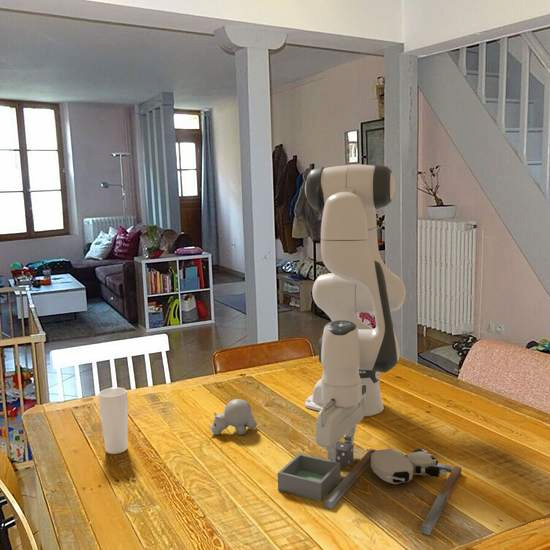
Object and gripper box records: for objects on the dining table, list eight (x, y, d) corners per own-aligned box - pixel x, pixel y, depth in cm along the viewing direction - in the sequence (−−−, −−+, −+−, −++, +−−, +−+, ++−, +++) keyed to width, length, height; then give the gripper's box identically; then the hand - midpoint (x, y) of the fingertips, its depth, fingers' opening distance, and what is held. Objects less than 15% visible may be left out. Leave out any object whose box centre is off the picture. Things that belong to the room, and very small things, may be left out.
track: (324, 507, 120) (324, 500, 119) (372, 452, 143) (372, 446, 143) (429, 535, 109) (429, 527, 109) (462, 471, 133) (462, 464, 133)
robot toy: (424, 460, 139) (362, 465, 136) (425, 441, 138) (363, 446, 135) (449, 487, 127) (383, 494, 124) (451, 468, 126) (384, 474, 123)
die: (330, 464, 138) (330, 447, 137) (337, 457, 141) (337, 441, 141) (347, 468, 136) (347, 451, 135) (353, 460, 139) (353, 444, 139)
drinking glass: (136, 446, 150) (132, 388, 147) (120, 457, 143) (116, 398, 141) (112, 442, 152) (108, 386, 150) (96, 454, 146) (92, 395, 143)
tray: (278, 490, 127) (277, 472, 126) (299, 470, 135) (299, 453, 134) (321, 501, 122) (320, 483, 121) (340, 480, 130) (340, 462, 130)
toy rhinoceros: (215, 437, 160) (202, 410, 158) (256, 417, 161) (243, 390, 159) (217, 449, 153) (203, 420, 151) (260, 427, 154) (246, 399, 152)
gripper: (335, 410, 125) (335, 472, 127) (370, 382, 143) (369, 437, 145) (308, 405, 128) (308, 466, 130) (345, 379, 146) (345, 433, 148)
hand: (341, 451), depth 138 cm, fingers open, 8 cm apart
